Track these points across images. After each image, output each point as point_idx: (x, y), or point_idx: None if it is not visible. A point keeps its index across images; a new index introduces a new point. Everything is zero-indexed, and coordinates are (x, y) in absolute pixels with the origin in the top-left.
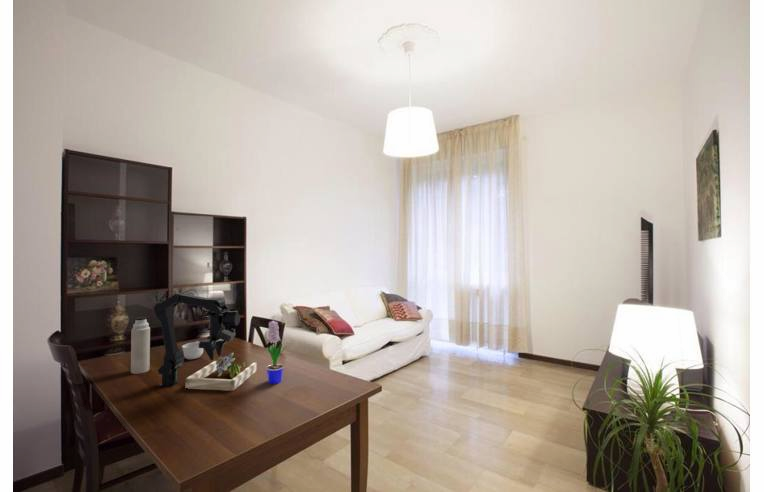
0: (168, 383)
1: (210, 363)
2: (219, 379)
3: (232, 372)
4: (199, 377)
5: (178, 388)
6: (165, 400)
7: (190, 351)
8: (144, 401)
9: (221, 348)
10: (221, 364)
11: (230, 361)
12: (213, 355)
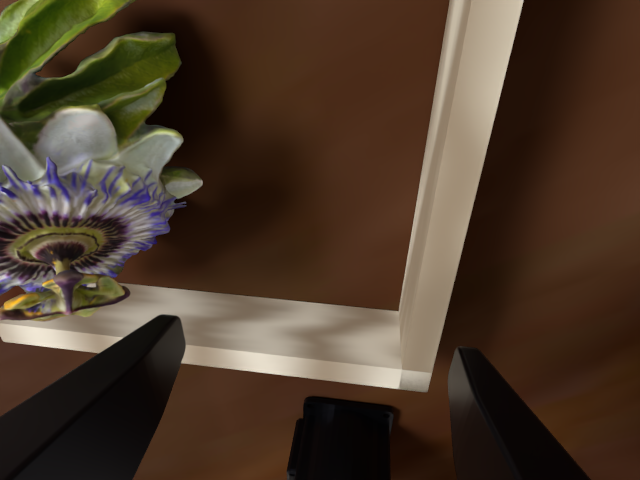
0: (388, 437)
1: (68, 348)
2: (481, 70)
3: (126, 67)
4: (278, 319)
5: None
6: (623, 361)
7: None
8: (601, 443)
9: (45, 451)
10: (95, 241)
11: (13, 152)
12: (533, 438)
